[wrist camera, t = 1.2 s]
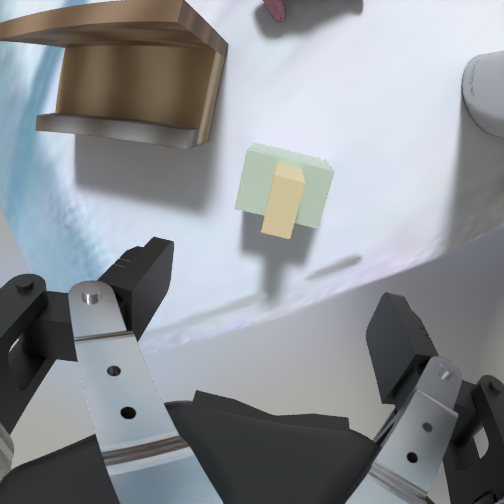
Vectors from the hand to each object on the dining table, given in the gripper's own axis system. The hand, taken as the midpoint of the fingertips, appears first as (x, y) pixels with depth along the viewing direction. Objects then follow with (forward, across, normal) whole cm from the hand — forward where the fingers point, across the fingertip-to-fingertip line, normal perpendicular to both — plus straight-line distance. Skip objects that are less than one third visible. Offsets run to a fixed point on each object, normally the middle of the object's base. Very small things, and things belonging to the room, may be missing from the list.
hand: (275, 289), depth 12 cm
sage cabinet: (+21, 0, 0) cm, 21 cm away
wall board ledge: (+21, +16, -6) cm, 27 cm away
